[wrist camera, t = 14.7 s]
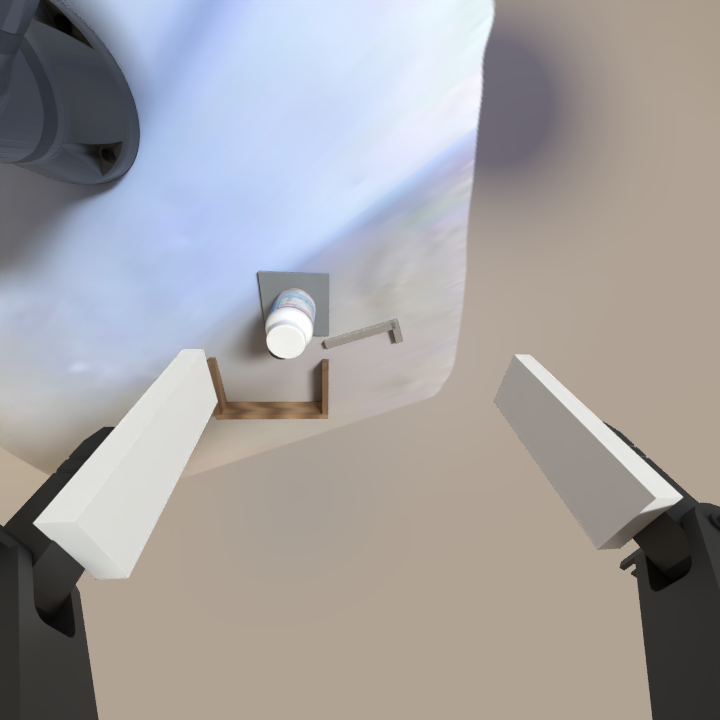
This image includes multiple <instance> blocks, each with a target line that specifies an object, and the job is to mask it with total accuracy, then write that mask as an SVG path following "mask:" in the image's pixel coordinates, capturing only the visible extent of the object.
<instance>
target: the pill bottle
mask: <svg viewBox="0 0 720 720" xmlns="http://www.w3.org/2000/svg"><path fill="white" fill-rule="evenodd" d="M315 313H316V306H315V303H314V301H313V299H312V298H311V296H310V295H309V294H307V293H306V292H305V291H303V290H300V289H296V288H291V289H287V290H284V291H283V292H281V293H280V294H279V295H278V297H277V299H276V301H275V303H274V305H273V307H272V309H271V312H270V314H269V316H268V319H267V321H266V326H265V330H266V335H267V338H266V342H267V346H268V348H269V350H270V351H271V352H272V353H273V354H274V355H276V356H278V357H280V358H285V359H290V358H294V357H297V356H298V355H300V354H301V353H302V352H303V350H304V348H305V346H306V345H307V344H308V343H309V342H310V340H311V338H312V335H313V328H314V320H315Z"/></svg>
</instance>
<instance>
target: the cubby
mask: <svg viewBox="0 0 720 720" xmlns="http://www.w3.org/2000/svg"><path fill="white" fill-rule="evenodd" d="M328 363H329V359H323V364H322V402H227V400H226V396H225V392H224V388H223V384H222V381H221V377H220V373H219V369H218V365H217V361H216V358H209V359H208V361H207V364H208V368H209V372H210V375H211V379H212V382H213V386H214V389H215V393H216V397H217V400H218V402H217V404H216V406H215V408H214V410H213V411H214V414H215V417H216V419H328Z"/></svg>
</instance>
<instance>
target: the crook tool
mask: <svg viewBox="0 0 720 720" xmlns="http://www.w3.org/2000/svg"><path fill="white" fill-rule="evenodd" d="M389 330H393V334H394V338H395V341H396V343H399V342H403V339H402V335H401V330H400V326H399V322H398V319H397V318H396V319H393V320H390V321H386V322H383V323H380V324H376V325H373V326H370V327H366V328H363V329H360V330H356V331H353V332H350V333H347V334H343V335H340V336H337V337H333V338H330V339H327V340H325V345H326V348H327V349H329V348H332V347H335V346H339V345H342V344H345V343H349V342H352V341H355V340H359V339H362V338H366V337H369V336H372V335H376V334H379V333H382V332H386V331H389Z"/></svg>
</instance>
